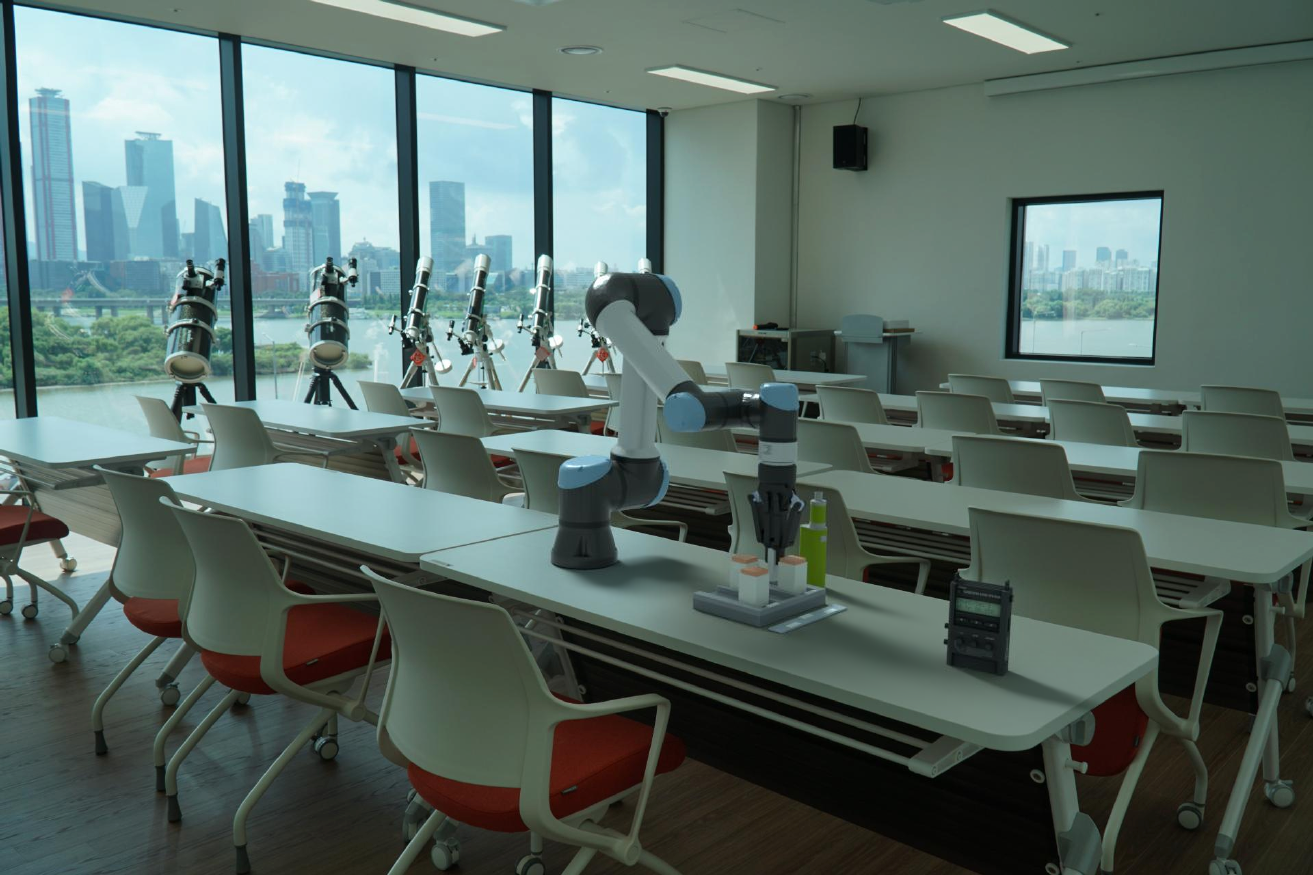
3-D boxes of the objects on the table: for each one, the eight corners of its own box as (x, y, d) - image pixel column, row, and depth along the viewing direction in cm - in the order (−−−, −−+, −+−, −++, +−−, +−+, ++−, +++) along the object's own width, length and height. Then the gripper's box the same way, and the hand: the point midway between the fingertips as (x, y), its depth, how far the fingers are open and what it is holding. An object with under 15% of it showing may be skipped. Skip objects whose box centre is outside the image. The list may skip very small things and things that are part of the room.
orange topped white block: (738, 604, 186) (739, 568, 185) (751, 600, 189) (752, 565, 188) (755, 608, 183) (756, 572, 183) (768, 604, 186) (769, 569, 186)
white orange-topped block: (777, 591, 195) (778, 557, 194) (789, 588, 198) (790, 554, 197) (794, 596, 192) (795, 561, 191) (806, 592, 195) (807, 558, 194)
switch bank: (692, 608, 191) (693, 592, 190) (760, 587, 206) (760, 572, 206) (759, 627, 180) (760, 609, 180) (825, 603, 195) (825, 587, 195)
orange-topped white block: (729, 590, 195) (730, 556, 194) (742, 586, 198) (743, 553, 197) (745, 594, 193) (746, 560, 192) (758, 590, 195) (759, 556, 195)
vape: (816, 590, 204) (819, 494, 201) (795, 584, 209) (798, 490, 206) (828, 587, 206) (832, 492, 204) (807, 581, 211) (810, 488, 208)
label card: (768, 629, 179) (768, 627, 179) (833, 605, 194) (834, 603, 194) (782, 633, 177) (782, 631, 176) (847, 608, 192) (847, 606, 192)
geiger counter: (938, 664, 162) (942, 574, 160) (946, 657, 166) (951, 569, 164) (1003, 678, 156) (1009, 585, 154) (1011, 670, 160) (1017, 579, 158)
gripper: (739, 460, 196) (736, 577, 199) (793, 468, 188) (789, 590, 190) (762, 456, 202) (759, 570, 205) (816, 464, 193) (812, 582, 196)
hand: (774, 579), depth 198 cm, fingers closed
